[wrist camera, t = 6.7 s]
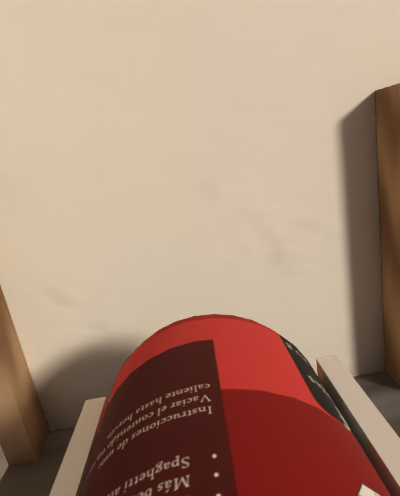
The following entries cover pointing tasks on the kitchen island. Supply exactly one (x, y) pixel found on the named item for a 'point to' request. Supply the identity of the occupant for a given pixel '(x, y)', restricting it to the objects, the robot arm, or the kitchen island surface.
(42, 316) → the kitchen island surface
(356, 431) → the robot arm
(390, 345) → the guide lane
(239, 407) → the canned food
